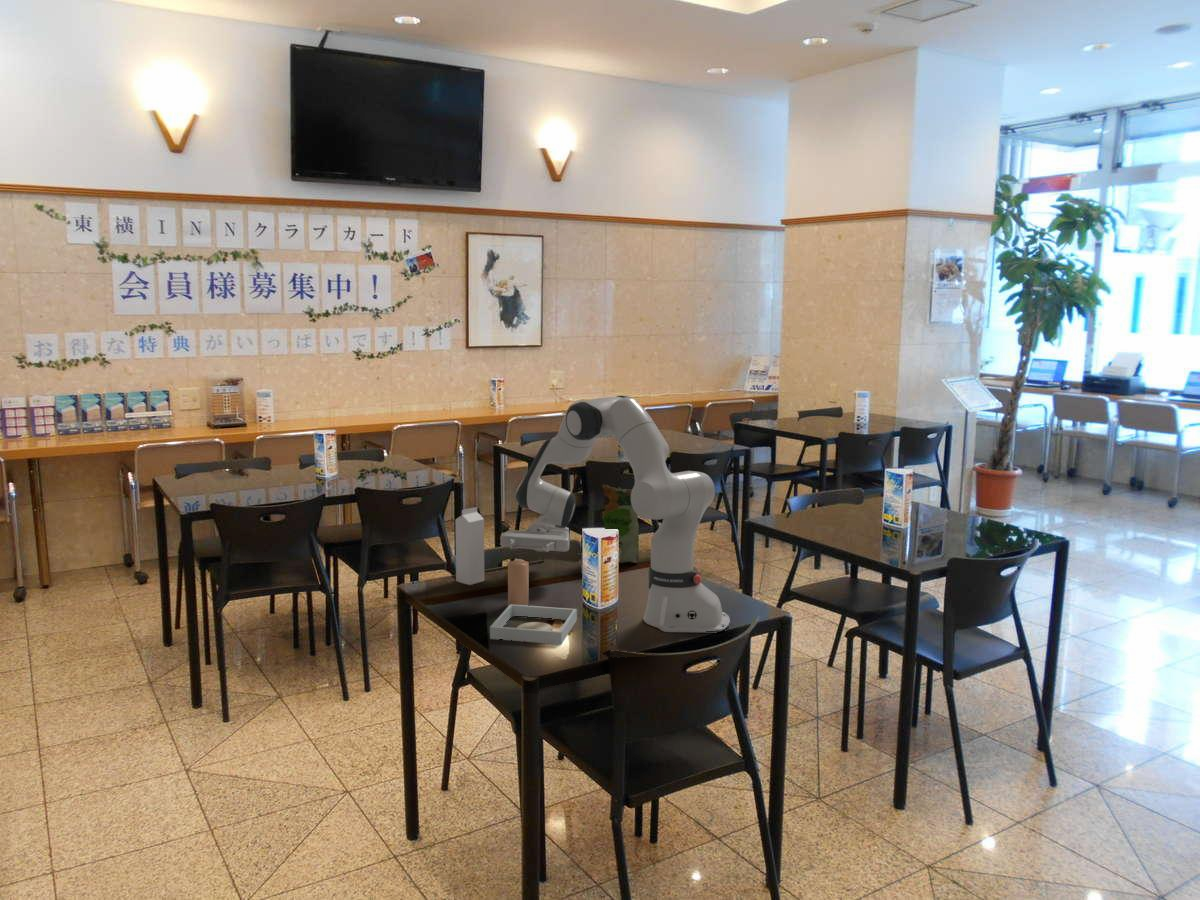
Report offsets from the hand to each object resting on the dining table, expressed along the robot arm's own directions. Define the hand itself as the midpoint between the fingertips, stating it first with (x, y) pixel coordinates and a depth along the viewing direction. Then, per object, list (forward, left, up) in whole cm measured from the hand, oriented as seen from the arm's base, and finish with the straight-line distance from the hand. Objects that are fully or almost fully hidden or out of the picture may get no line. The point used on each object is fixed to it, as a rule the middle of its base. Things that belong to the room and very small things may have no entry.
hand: (528, 547), depth 263 cm
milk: (+20, -7, -13) cm, 25 cm away
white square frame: (-9, +29, -13) cm, 33 cm away
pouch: (-20, -37, -13) cm, 44 cm away
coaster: (-9, +29, -13) cm, 33 cm away
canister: (0, +12, -13) cm, 18 cm away
